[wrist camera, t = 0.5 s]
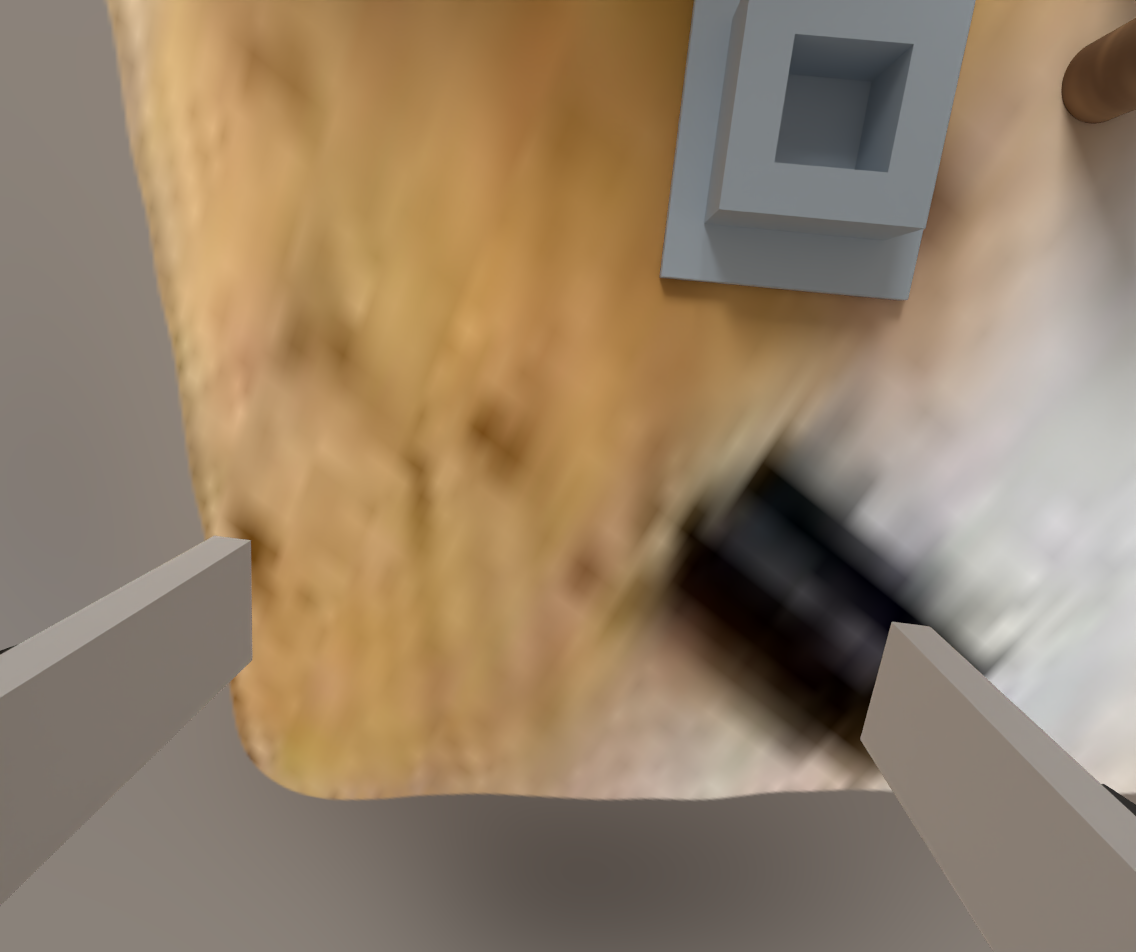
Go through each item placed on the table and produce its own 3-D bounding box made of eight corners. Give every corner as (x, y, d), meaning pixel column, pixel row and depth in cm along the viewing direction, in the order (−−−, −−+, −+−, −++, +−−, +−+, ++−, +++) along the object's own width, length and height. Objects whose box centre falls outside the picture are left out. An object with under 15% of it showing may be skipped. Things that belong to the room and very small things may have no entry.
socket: (699, -41, 32) (718, -113, 27) (968, -19, 32) (1042, -87, 27) (659, 277, 36) (669, 269, 31) (899, 300, 36) (951, 296, 31)
